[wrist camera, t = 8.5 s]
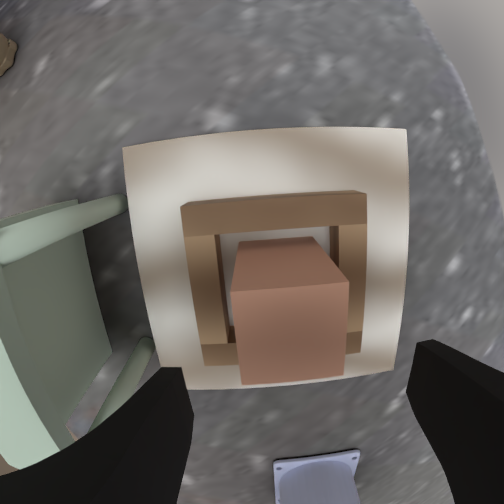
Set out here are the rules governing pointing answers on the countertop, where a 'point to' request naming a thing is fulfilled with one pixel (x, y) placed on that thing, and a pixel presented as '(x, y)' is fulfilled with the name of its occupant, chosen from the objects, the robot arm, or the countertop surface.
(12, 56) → the handle
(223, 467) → the countertop surface
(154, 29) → the countertop surface
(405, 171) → the socket
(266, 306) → the peg
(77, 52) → the countertop surface
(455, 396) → the robot arm
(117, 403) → the green box
